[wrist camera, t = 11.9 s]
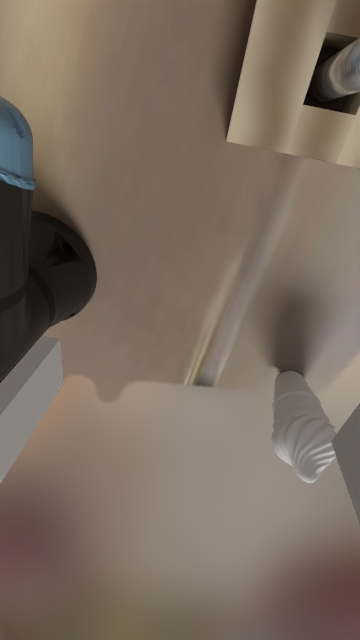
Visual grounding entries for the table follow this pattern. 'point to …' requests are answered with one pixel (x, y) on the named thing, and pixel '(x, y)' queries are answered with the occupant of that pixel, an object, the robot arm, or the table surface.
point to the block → (295, 81)
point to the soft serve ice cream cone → (301, 427)
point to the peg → (338, 74)
